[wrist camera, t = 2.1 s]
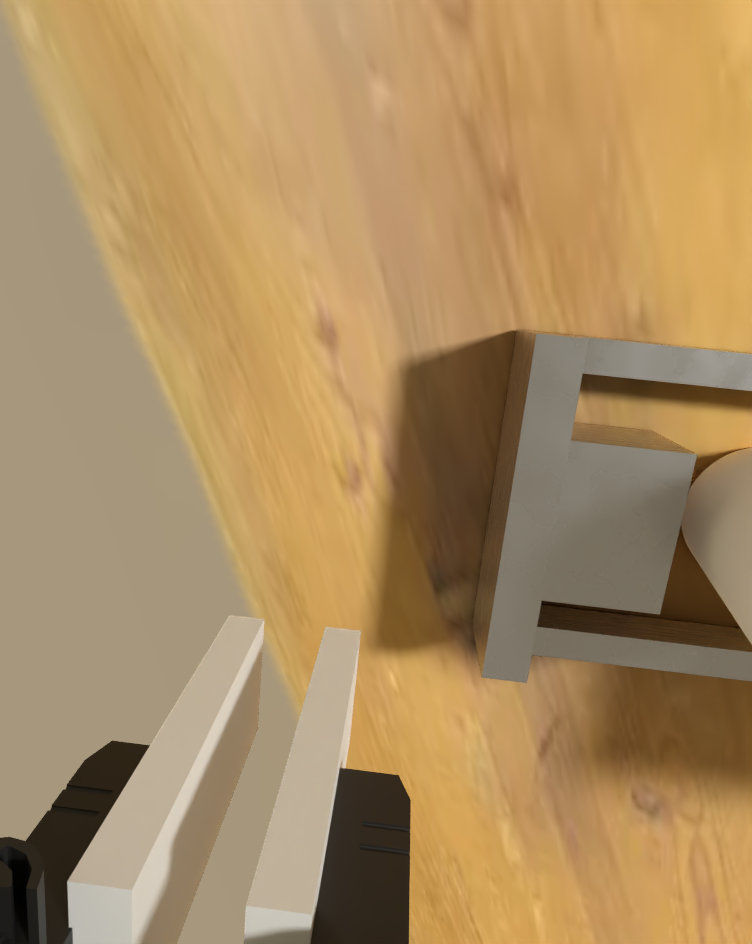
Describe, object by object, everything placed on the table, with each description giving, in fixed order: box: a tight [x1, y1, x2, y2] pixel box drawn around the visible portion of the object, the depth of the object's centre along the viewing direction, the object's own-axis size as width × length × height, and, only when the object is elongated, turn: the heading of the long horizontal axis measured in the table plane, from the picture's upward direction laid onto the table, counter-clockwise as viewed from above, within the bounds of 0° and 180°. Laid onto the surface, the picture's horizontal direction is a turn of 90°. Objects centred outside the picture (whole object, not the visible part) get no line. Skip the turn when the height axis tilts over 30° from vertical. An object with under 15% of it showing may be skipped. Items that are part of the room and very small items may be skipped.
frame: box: [472, 329, 752, 683], centre depth 29 cm, size 15×17×5 cm
